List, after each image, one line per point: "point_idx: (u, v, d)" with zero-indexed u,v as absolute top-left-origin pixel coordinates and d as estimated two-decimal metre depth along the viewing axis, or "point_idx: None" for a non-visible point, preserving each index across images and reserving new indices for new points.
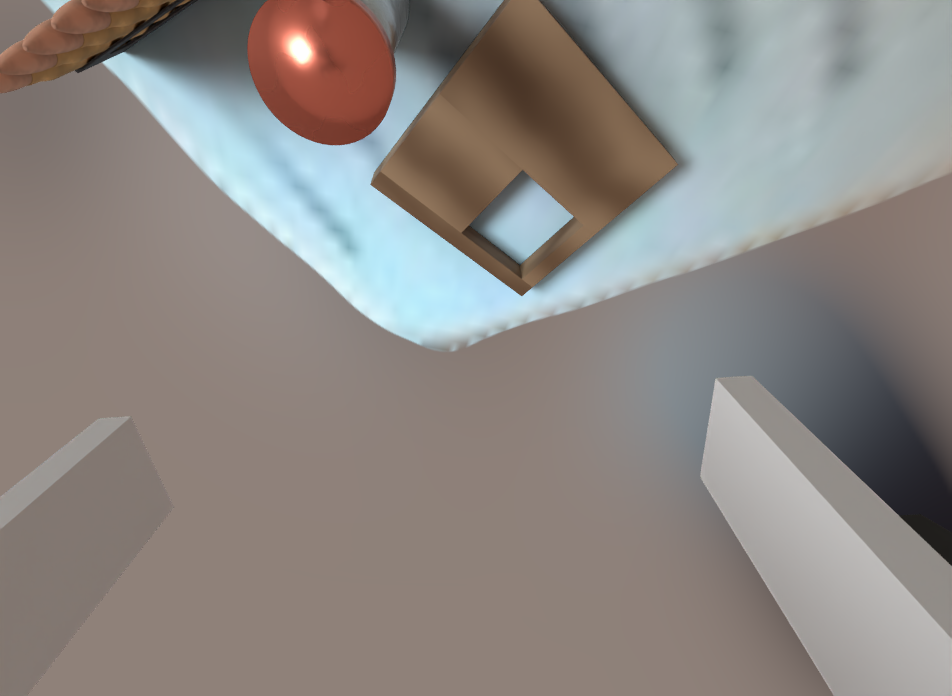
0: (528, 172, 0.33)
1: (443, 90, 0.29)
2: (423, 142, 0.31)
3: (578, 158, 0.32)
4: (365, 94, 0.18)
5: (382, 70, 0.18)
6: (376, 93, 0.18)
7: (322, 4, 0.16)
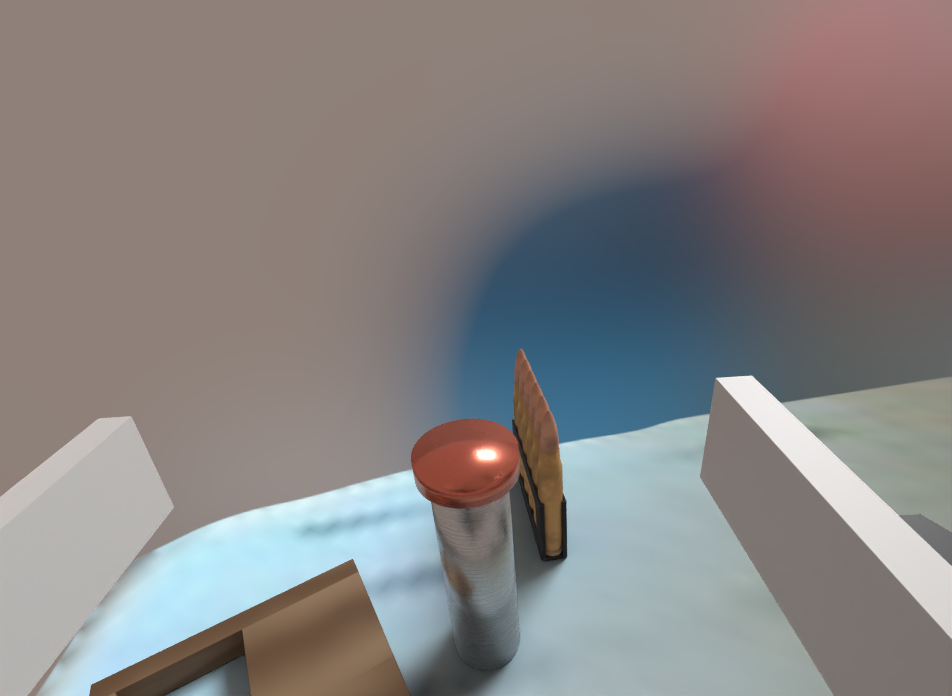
0: None
1: (394, 660, 0.26)
2: (359, 622, 0.29)
3: None
4: (439, 468, 0.22)
5: (449, 481, 0.21)
6: (436, 474, 0.22)
7: (504, 462, 0.22)
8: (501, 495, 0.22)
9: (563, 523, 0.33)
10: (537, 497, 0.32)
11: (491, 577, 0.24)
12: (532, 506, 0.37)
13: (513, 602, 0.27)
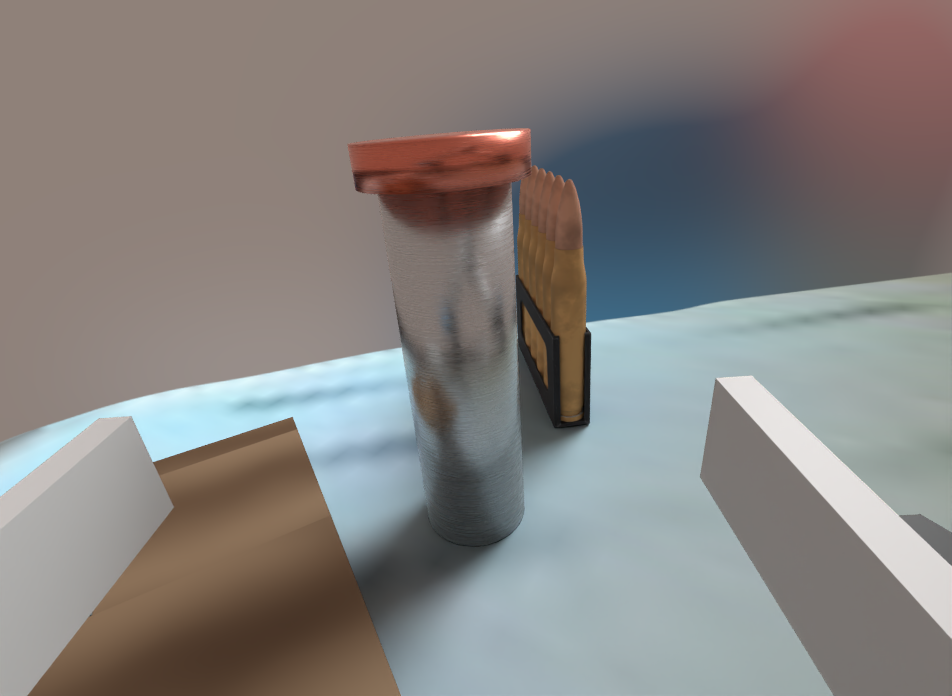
0: None
1: (330, 521, 0.17)
2: (287, 479, 0.19)
3: None
4: (393, 141, 0.13)
5: (407, 140, 0.12)
6: (386, 143, 0.12)
7: (505, 131, 0.13)
8: (499, 180, 0.12)
9: (586, 369, 0.23)
10: (550, 331, 0.23)
11: (481, 369, 0.15)
12: (541, 369, 0.27)
13: (515, 435, 0.17)
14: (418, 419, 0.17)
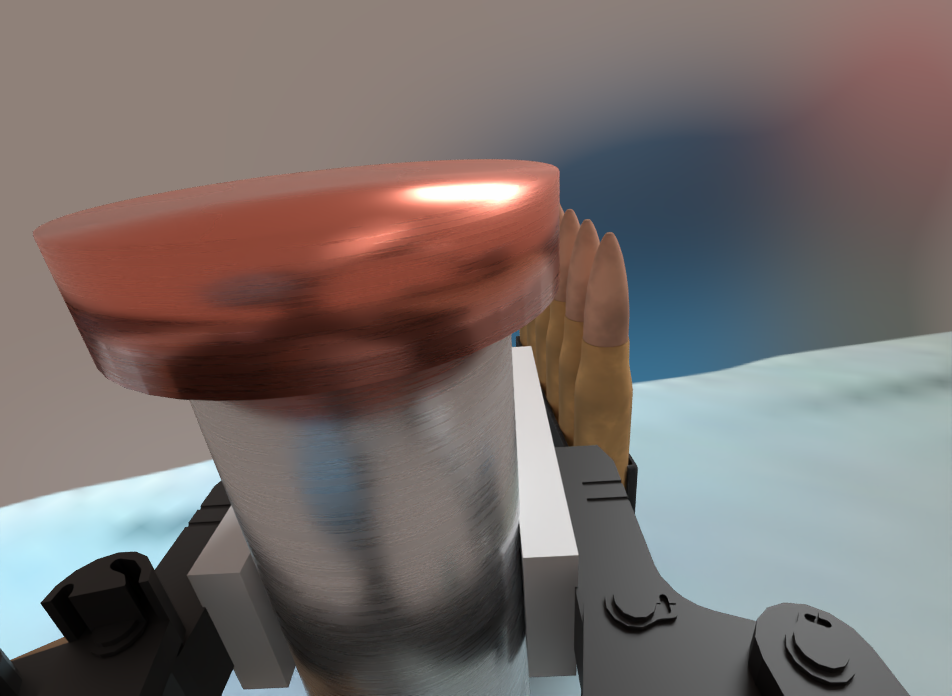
0: None
1: None
2: None
3: None
4: (167, 214, 0.04)
5: (156, 231, 0.03)
6: (124, 226, 0.04)
7: (491, 185, 0.04)
8: (473, 340, 0.04)
9: None
10: None
11: None
12: None
13: None
14: None
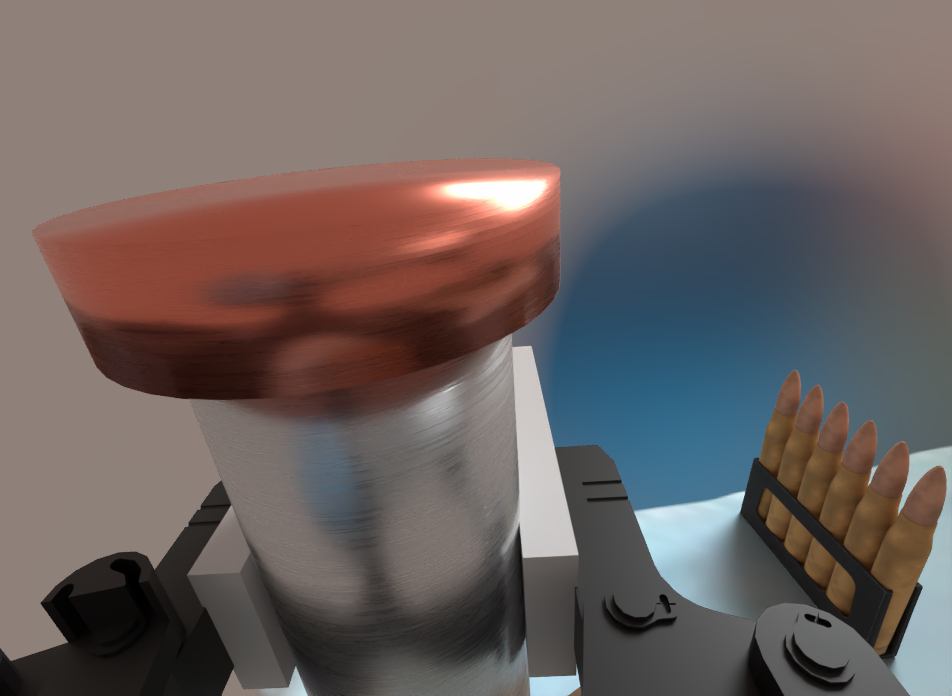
0: None
1: None
2: None
3: None
4: (166, 213, 0.04)
5: (156, 229, 0.03)
6: (124, 224, 0.04)
7: (492, 184, 0.04)
8: (474, 339, 0.04)
9: (907, 614, 0.24)
10: (874, 579, 0.24)
11: None
12: (816, 578, 0.28)
13: None
14: None
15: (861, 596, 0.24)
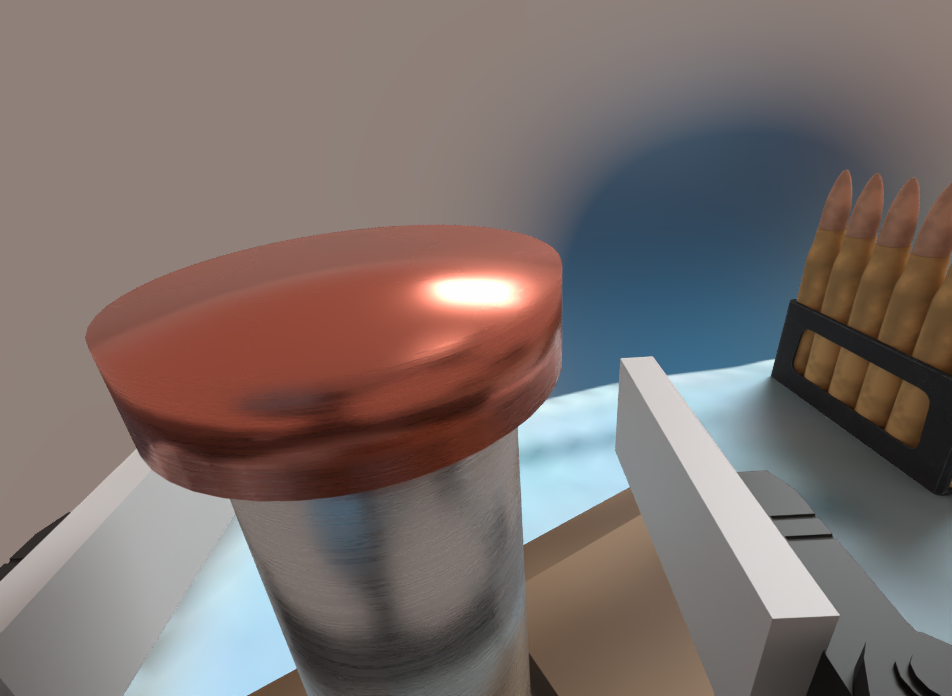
0: None
1: None
2: None
3: None
4: (203, 315, 0.05)
5: (203, 353, 0.04)
6: (168, 334, 0.04)
7: (500, 290, 0.05)
8: (485, 438, 0.04)
9: None
10: None
11: None
12: (872, 416, 0.23)
13: None
14: None
15: (938, 410, 0.20)
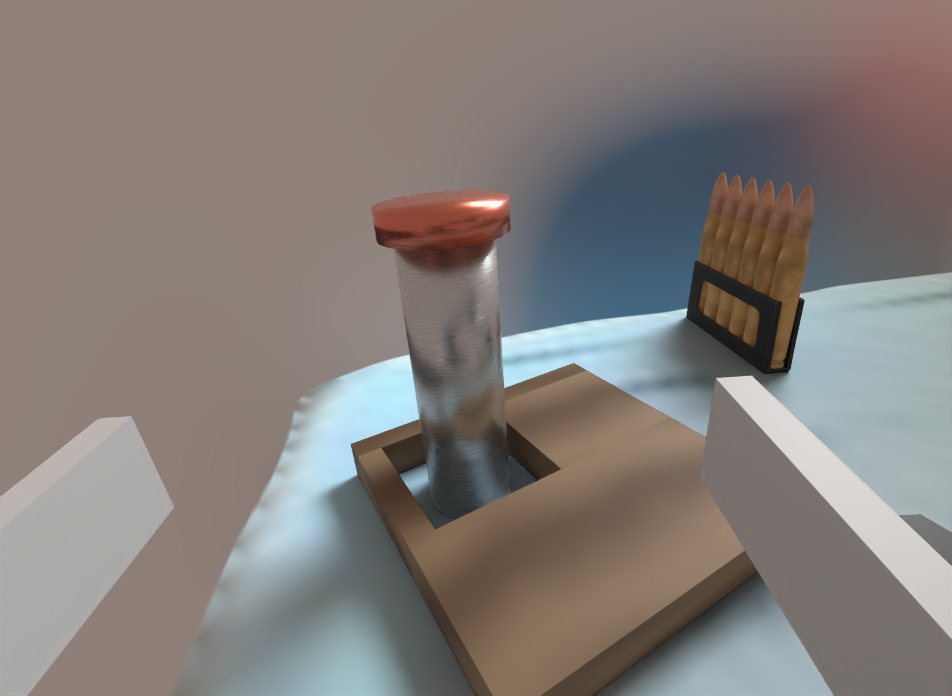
0: (554, 474, 0.22)
1: (674, 420, 0.25)
2: (614, 399, 0.27)
3: (564, 532, 0.19)
4: (407, 208, 0.17)
5: (418, 212, 0.16)
6: (402, 211, 0.17)
7: (490, 201, 0.17)
8: (485, 239, 0.17)
9: (795, 327, 0.31)
10: (770, 298, 0.31)
11: (473, 377, 0.19)
12: (736, 332, 0.35)
13: (501, 429, 0.22)
14: (423, 417, 0.21)
15: (762, 319, 0.32)
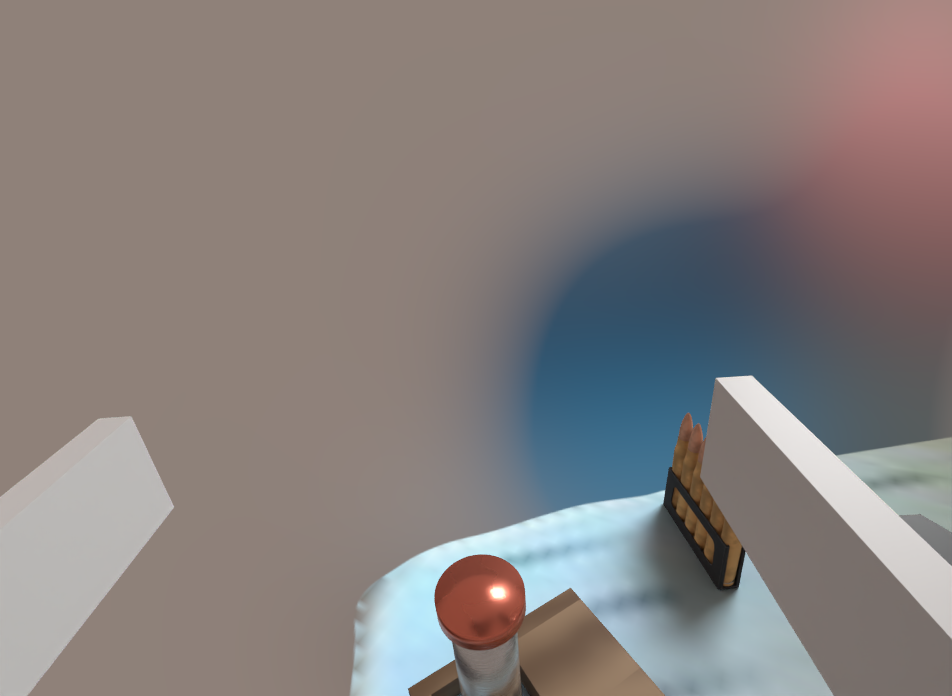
0: None
1: (643, 671, 0.34)
2: (600, 640, 0.37)
3: None
4: (459, 612, 0.26)
5: (468, 629, 0.26)
6: (456, 619, 0.26)
7: (513, 608, 0.26)
8: (510, 637, 0.26)
9: (741, 560, 0.41)
10: (721, 539, 0.40)
11: (501, 694, 0.29)
12: (699, 543, 0.45)
13: None
14: None
15: (716, 550, 0.41)
